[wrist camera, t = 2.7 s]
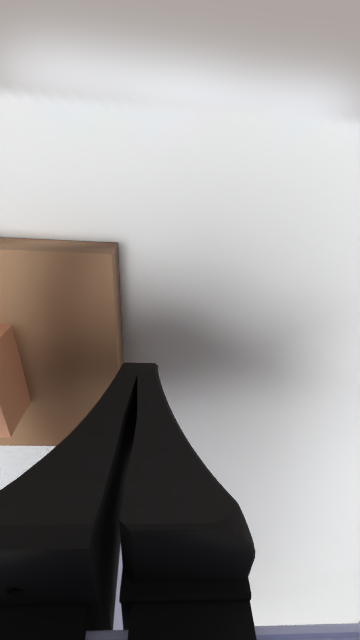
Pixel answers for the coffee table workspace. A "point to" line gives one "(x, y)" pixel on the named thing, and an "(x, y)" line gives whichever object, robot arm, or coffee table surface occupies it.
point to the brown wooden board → (61, 329)
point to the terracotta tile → (11, 384)
